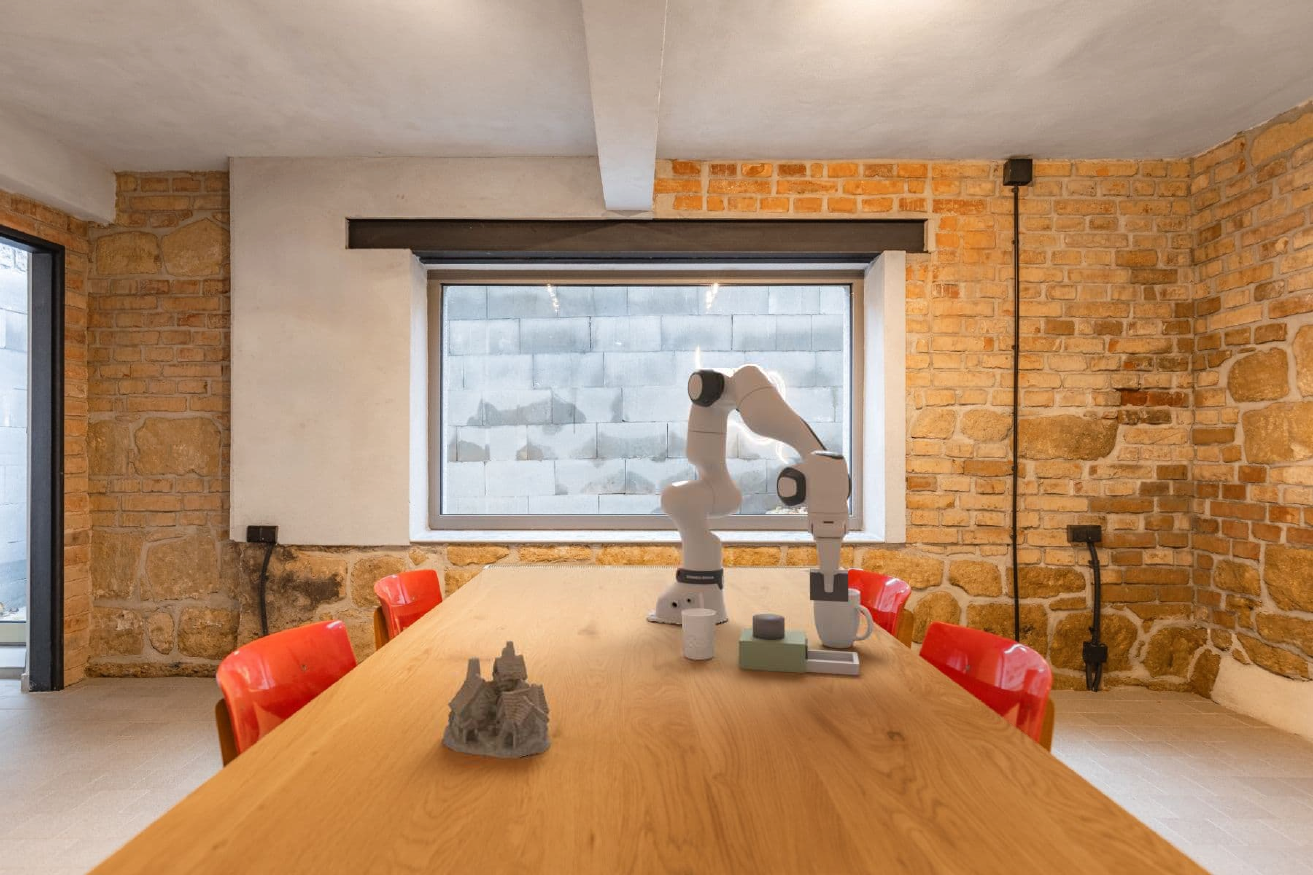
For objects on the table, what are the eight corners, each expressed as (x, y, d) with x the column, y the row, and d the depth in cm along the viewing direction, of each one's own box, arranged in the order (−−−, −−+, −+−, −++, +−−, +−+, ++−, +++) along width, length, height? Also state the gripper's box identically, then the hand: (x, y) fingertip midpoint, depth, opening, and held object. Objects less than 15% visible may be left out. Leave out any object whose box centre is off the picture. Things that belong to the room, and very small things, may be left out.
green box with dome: (738, 668, 149) (738, 621, 149) (744, 654, 159) (743, 610, 160) (859, 676, 143) (859, 628, 143) (856, 661, 154) (856, 616, 154)
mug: (884, 648, 164) (883, 593, 165) (860, 657, 157) (859, 599, 157) (829, 636, 175) (829, 584, 176) (804, 644, 168) (804, 590, 168)
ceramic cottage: (439, 729, 115) (444, 640, 115) (537, 719, 121) (542, 634, 121) (448, 775, 101) (454, 673, 101) (558, 761, 107) (564, 665, 107)
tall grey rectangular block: (848, 601, 147) (848, 573, 147) (809, 600, 149) (809, 572, 149) (847, 597, 152) (847, 569, 152) (810, 595, 154) (809, 568, 154)
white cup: (716, 651, 162) (716, 608, 162) (715, 661, 154) (715, 616, 154) (682, 650, 163) (682, 607, 163) (680, 660, 155) (680, 615, 155)
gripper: (813, 520, 162) (813, 579, 161) (812, 529, 142) (813, 597, 141) (841, 521, 160) (841, 581, 160) (844, 530, 140) (845, 598, 140)
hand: (828, 588), depth 150 cm, fingers closed on tall grey rectangular block, 5 cm apart
